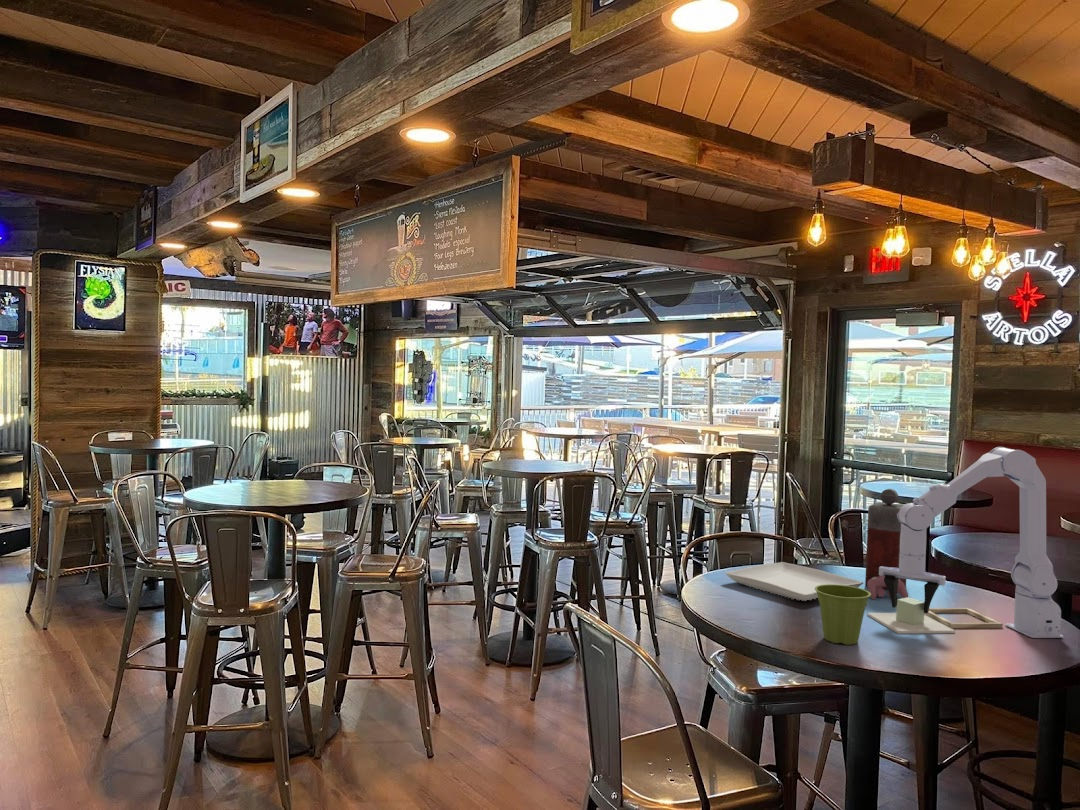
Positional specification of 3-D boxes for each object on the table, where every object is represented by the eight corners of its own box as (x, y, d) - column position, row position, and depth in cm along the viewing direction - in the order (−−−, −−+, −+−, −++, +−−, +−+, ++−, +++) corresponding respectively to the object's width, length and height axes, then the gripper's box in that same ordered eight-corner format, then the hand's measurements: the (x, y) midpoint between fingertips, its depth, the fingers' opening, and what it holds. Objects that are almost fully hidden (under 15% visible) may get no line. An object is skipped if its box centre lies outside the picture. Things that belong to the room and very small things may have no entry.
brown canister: (908, 584, 229) (912, 488, 228) (898, 592, 220) (902, 492, 219) (876, 579, 235) (879, 485, 234) (864, 586, 226) (868, 488, 225)
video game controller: (904, 604, 215) (901, 578, 217) (910, 600, 210) (907, 574, 213) (866, 602, 215) (864, 576, 218) (872, 599, 211) (869, 572, 214)
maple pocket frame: (1002, 627, 190) (1002, 623, 190) (951, 628, 189) (951, 624, 189) (967, 611, 203) (968, 607, 203) (920, 611, 202) (920, 608, 202)
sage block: (923, 622, 191) (925, 602, 190) (912, 625, 188) (914, 604, 188) (906, 617, 194) (908, 597, 194) (895, 619, 192) (897, 599, 192)
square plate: (805, 608, 204) (806, 593, 204) (722, 584, 226) (723, 571, 225) (864, 593, 220) (865, 579, 220) (781, 572, 242) (782, 559, 242)
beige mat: (954, 633, 185) (954, 630, 185) (898, 633, 184) (898, 630, 184) (920, 614, 199) (920, 612, 199) (867, 615, 198) (867, 612, 198)
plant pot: (876, 640, 179) (878, 590, 178) (857, 653, 170) (859, 601, 169) (825, 628, 186) (826, 580, 186) (804, 639, 178) (806, 590, 177)
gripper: (948, 555, 190) (946, 611, 190) (884, 546, 198) (882, 600, 199) (943, 560, 184) (940, 618, 185) (877, 551, 193) (875, 606, 193)
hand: (910, 609), depth 191 cm, fingers open, 6 cm apart
